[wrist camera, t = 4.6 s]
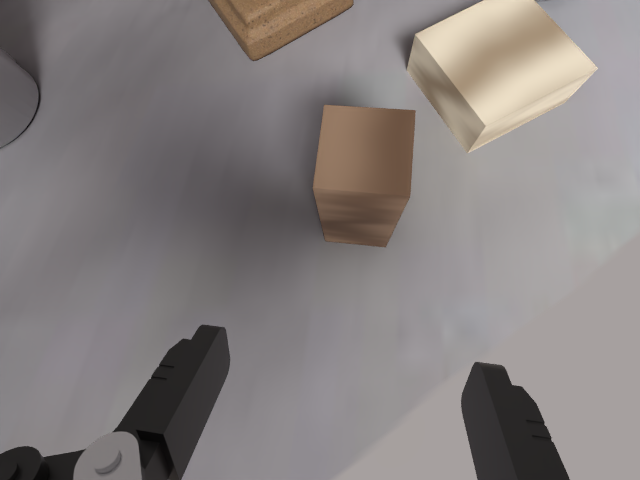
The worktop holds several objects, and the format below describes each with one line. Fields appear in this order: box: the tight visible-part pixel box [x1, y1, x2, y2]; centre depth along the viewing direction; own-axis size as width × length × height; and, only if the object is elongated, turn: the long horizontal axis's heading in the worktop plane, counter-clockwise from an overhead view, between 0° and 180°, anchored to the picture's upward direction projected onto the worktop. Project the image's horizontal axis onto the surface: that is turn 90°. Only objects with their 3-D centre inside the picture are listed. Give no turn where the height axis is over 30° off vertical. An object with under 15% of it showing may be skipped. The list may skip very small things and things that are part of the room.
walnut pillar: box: [313, 105, 416, 247], centre depth 21 cm, size 4×4×10 cm
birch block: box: [407, 0, 598, 153], centre depth 26 cm, size 9×9×4 cm
